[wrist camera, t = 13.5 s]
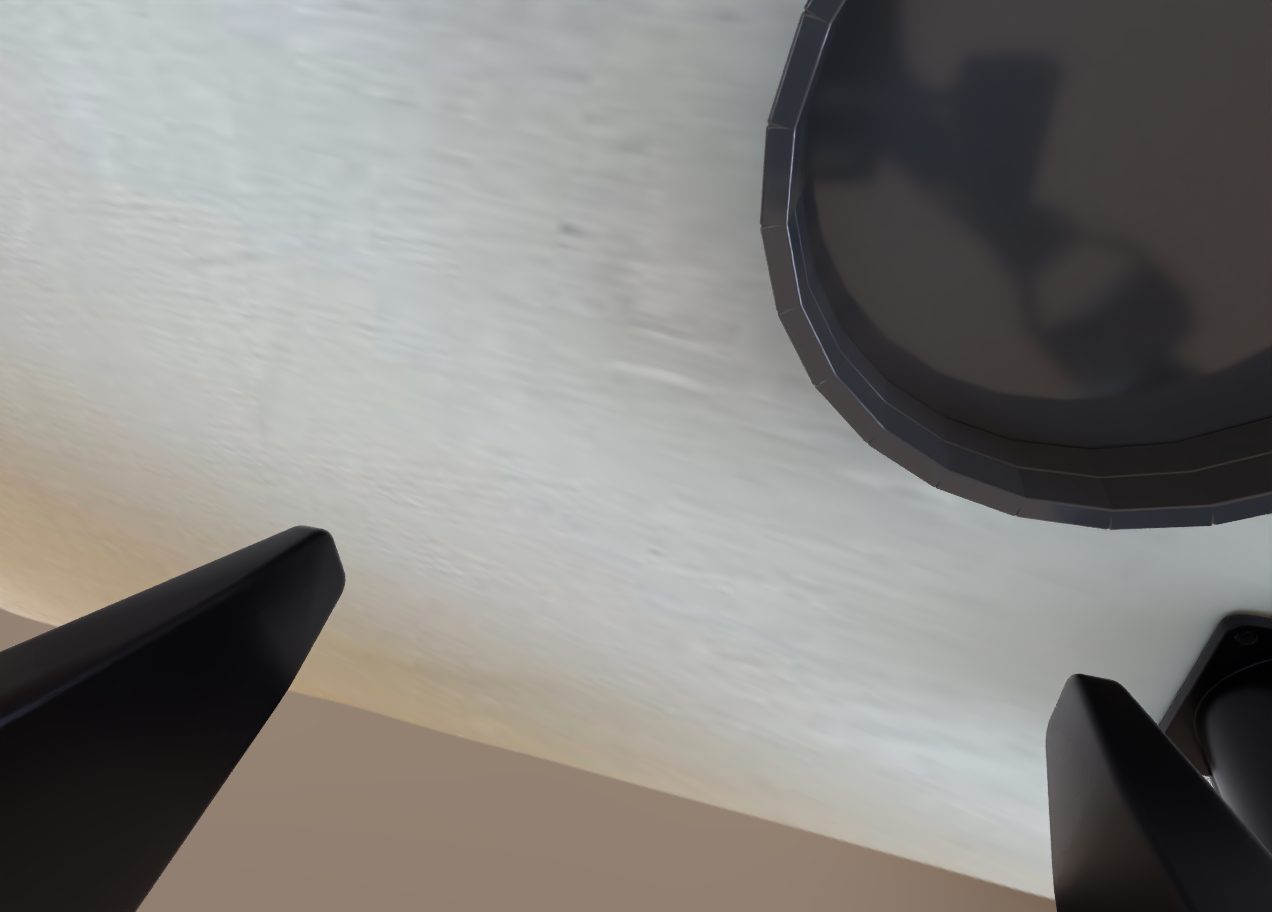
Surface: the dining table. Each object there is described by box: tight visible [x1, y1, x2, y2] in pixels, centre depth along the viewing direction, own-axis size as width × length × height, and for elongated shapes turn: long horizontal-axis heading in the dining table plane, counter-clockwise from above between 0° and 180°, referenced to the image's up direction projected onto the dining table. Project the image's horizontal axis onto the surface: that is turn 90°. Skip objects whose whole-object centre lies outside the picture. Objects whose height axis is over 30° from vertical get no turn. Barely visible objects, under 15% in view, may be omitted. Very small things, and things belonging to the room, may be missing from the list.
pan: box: [760, 0, 1272, 530], centre depth 14 cm, size 15×15×3 cm
